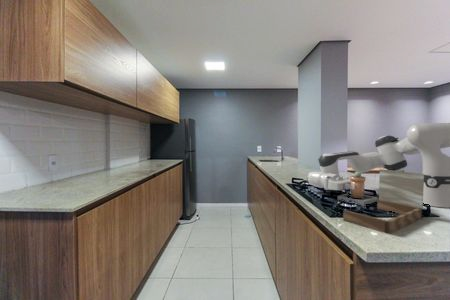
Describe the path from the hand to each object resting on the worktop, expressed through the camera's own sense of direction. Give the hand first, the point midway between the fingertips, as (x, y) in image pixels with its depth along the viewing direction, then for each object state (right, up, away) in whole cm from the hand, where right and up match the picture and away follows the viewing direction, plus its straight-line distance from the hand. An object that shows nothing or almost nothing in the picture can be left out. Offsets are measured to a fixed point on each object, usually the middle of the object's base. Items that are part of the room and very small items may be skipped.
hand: (359, 186), depth 126 cm
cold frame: (-4, -10, -26) cm, 28 cm away
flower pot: (0, -5, +1) cm, 6 cm away
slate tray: (0, -8, +1) cm, 8 cm away
